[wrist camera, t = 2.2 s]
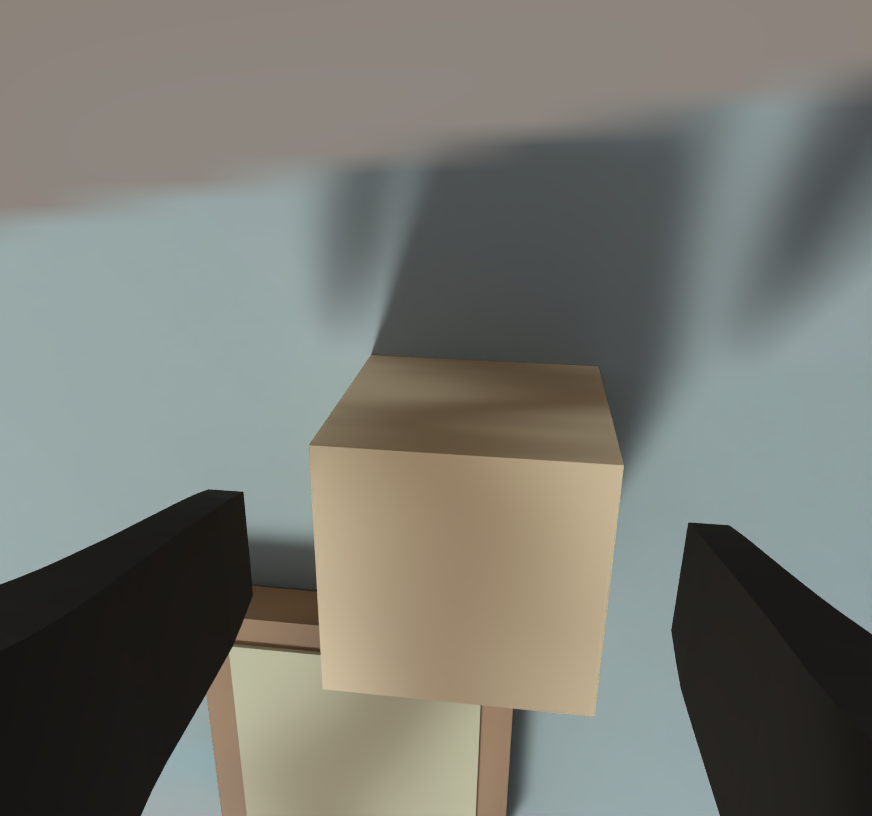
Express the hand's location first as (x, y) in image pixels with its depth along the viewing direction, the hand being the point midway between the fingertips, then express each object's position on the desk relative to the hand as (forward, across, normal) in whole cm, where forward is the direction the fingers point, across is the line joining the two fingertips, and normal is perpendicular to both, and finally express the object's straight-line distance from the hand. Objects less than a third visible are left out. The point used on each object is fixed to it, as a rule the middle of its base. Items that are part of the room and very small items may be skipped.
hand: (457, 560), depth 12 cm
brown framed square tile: (+4, +2, +7) cm, 8 cm away
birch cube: (+4, 0, 0) cm, 4 cm away
